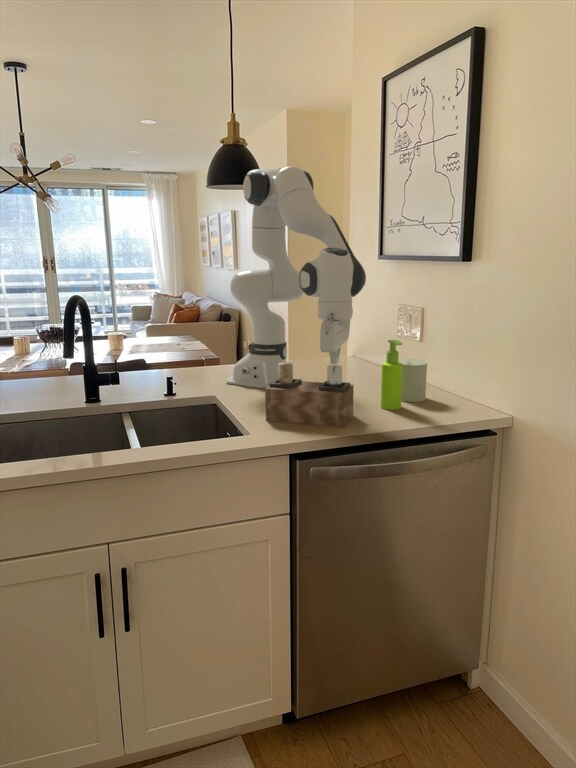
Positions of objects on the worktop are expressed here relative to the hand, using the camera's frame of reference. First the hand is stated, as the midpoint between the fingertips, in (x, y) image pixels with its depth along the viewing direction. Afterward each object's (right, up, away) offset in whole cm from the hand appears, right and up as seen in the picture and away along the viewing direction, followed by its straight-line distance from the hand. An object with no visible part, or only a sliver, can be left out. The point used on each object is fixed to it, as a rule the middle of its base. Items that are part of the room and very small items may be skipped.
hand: (334, 363), depth 150 cm
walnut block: (-6, -15, +6) cm, 17 cm away
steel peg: (0, -9, +2) cm, 9 cm away
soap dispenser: (+18, -13, +15) cm, 27 cm away
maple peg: (-13, -8, +7) cm, 17 cm away
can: (+26, -10, +25) cm, 37 cm away
